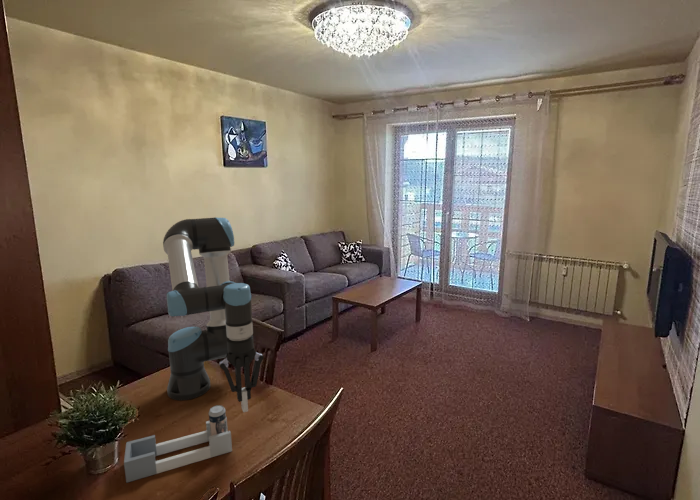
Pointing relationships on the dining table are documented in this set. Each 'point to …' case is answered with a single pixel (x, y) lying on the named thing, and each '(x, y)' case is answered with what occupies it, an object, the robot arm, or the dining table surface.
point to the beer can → (217, 420)
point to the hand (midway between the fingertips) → (244, 409)
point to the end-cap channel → (145, 449)
